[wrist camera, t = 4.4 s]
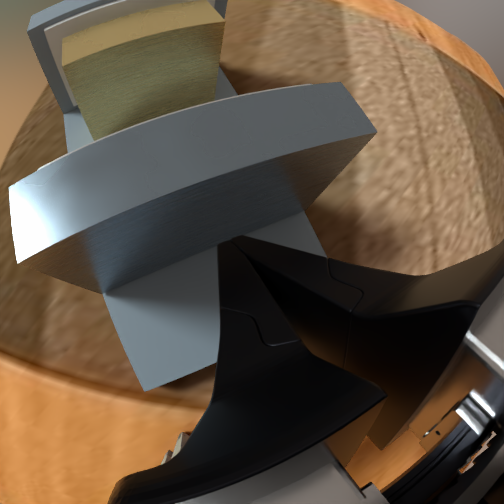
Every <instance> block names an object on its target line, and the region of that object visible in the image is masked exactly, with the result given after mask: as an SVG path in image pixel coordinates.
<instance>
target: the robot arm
mask: <svg viewBox="0 0 504 504" xmlns="http://www.w3.org/2000/svg"><path fill="white" fill-rule="evenodd" d="M217 265H218V289H219V309H220V310H219V313H220V337H219V349H218V357H217V365H216V373H215V381H214V388H213V393H212V398H211V401H210V404H209V406H208V408H207V409H206V411H205V413H204V414H203V416H202V417H201V419H200V421H199V422H198V424H197V425H196V427H195V429H194V430H193V432H192V433H191V435H190V436H189V438H188V439H187V441H186V443H185V444H184V446H183V447H182V448H181V450H180V451H179V452H178V453H177V454H176V455H175V456H174V457H173V458H171V459H170V460H168V461H167V462H165V463H163V464H162V465H159V466H157V467H154V468H151V469H147V470H144V471H140V472H136V473H133V474H130V475H128V476H125V477H123V478H122V479H120V480H119V481H118V482H117V483H116V485H115V487H114V489H113V491H112V493H111V495H110V498H109V501H108V504H504V239H503V240H502V242H501V243H500V244H498V245H497V246H495V247H494V248H492V249H490V250H488V251H486V252H484V253H482V254H480V255H477V256H475V257H472V258H470V259H468V260H465V261H463V262H460V263H458V264H455V265H453V266H450V267H448V268H445V269H443V270H440V271H437V272H435V273H432V274H428V275H421V276H414V275H407V274H401V273H396V272H390V271H385V270H380V269H374V268H369V267H364V266H359V265H355V264H351V263H347V262H342V261H339V260H335V259H331V258H327V257H324V256H320V255H316V254H312V253H309V252H305V251H301V250H298V249H294V248H290V247H286V246H283V245H279V244H275V243H271V242H267V241H264V240H260V239H256V238H252V237H248V236H245V235H239V236H236V237H234V238H231V239H230V241H229V240H226V241H224V242H221V243H219V244H217ZM409 428H410V429H411V430H412V431H413V432H414V434H415V435H416V436H417V437H418V438H419V439H420V440H421V441H420V442H419V443H420V445H421V446H422V447H423V448H424V449H425V451H426V452H427V453H426V454H425V455H424V456H422V457H421V458H420V459H419V460H418V461H417V462H416V463H414V464H413V465H412V466H411V467H410V468H409V469H407V470H406V471H405V472H404V473H402V474H401V475H400V476H399V477H397V478H396V479H395V480H394V481H392V482H391V483H390V484H388V485H387V486H386V487H384V488H383V489H382V490H380V491H379V490H378V489H377V488H376V486H375V485H374V484H373V483H372V482H369V483H368V484H366V485H365V486H363V487H361V488H359V486H358V485H357V484H356V482H355V481H354V480H353V479H352V477H351V476H350V475H349V473H348V472H347V471H346V469H345V467H346V466H347V464H348V463H349V461H350V460H351V458H352V457H353V455H354V454H355V452H356V451H357V449H358V447H359V446H360V444H361V443H362V441H363V440H364V438H365V436H366V435H367V436H368V437H369V438H370V439H371V440H372V441H373V443H374V444H375V445H376V446H377V447H378V448H379V449H380V450H383V449H384V448H385V447H387V446H388V445H389V444H391V443H392V442H393V441H394V440H396V439H397V438H398V437H399V436H401V435H402V434H403V433H404V432H405V431H407V430H408V429H409ZM492 431H494V432H495V433H496V434H497V435H496V436H494V437H493V438H492V439H491V440H490V441H489V442H488V443H487V446H488V448H487V449H486V450H485V451H484V452H482V453H481V454H480V455H479V456H477V457H476V458H475V459H474V460H473V463H474V466H472V467H471V468H470V469H468V470H467V471H465V472H464V473H461V472H460V471H459V470H460V469H461V468H462V467H464V466H465V465H467V464H468V463H469V462H470V461H471V460H472V459H471V457H472V456H473V455H474V454H475V453H477V452H478V451H479V450H480V449H481V448H482V446H481V445H482V444H483V443H484V442H485V441H486V440H488V439H489V438H490V437H491V435H492V433H491V432H492Z"/></svg>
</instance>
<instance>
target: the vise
mask: <svg viewBox="0 0 504 504" xmlns="http://www.w3.org/2000/svg"><path fill="white" fill-rule="evenodd" d="M191 1H198V0H65V1H62V2H60V3H58V4H55V5H53V6H51V7H49V8H47V9H44V10H42V11H40V12H39V13H36V14H34V15H32V17H31V20H30V23H29V27H28V30H27V33H28V35H29V38H30V40H31V43H32V46H33V48H34V51H35V53H36V55H37V58H38V60H39V63H40V64H41V67H42V69H43V72H44V74H45V76H46V78H47V81H48V83H49V85H50V87H51V89H52V91H53V93H54V95H55V98H56V100H57V102H58V104H59V106H60V108H61V110H62V112H63V114H64V123H65V133H66V141H67V149H68V153H70V152H72V151H74V150H76V149H78V148H80V147H83V146H85V145H87V144H89V143H92V142H94V140H93V138H92V136H91V134H90V132H89V129H88V127H87V125H86V123H85V121H84V118H83V116H82V114H81V112H80V109H79V107H78V105H77V103H76V100H75V98H74V95H73V93H72V91H71V88H70V86H69V83H68V81H67V78H66V76H65V73H64V71H63V68H62V39H63V38H65V37H67V36H70V35H72V34H74V33H77V32H79V31H82V30H84V29H87V28H90V27H92V26H95V25H98V24H101V23H104V22H107V21H110V20H113V19H116V18H119V17H123V16H126V15H130V14H133V13H137V12H141V11H145V10H149V9H154V8H158V7H163V6H168V5H173V4H179V3H185V2H191ZM207 1H208V2H209V3H210V5H211V6H212V7H213V8H214V9H215V10H216V11H217V12H218V13H219V14H220V15H221V17H222V18H223V19H224V18H225V12H226V6H227V1H228V0H207ZM233 96H238V94H237V93H236V91H235V90H234V88H233V87H232V85H231V83H230V82H229V80H228V79H227V77H226V76H225V74H224V73H223V71H222V69H221V68H220V66H219V69H218V76H217V84H216V92H215V100H214V101H216V100H220V99H224V98H229V97H233ZM244 235H245V236H248V237H252V238H256V239H260V240H264V241H267V242H271V243H275V244H279V245H283V246H286V247H290V248H294V249H298V250H301V251H305V252H309V253H312V254H316V255H320V256H324V257H327V256H326V254H325V252H324V250H323V248H322V246H321V244H320V242H319V240H318V238H317V236H316V234H315V232H314V230H313V228H312V226H311V224H310V222H309V220H308V218H307V216H306V214H305V212H304V211H302V212H300V213H297V214H295V215H292V216H290V217H287V218H285V219H282V220H279V221H277V222H274V223H272V224H269V225H267V226H264V227H262V228H259V229H257V230H254V231H252V232H249V233H247V234H244ZM103 296H104V299H105V302H106V305H107V307H108V310H109V313H110V315H111V318H112V320H113V323H114V325H115V328H116V330H117V333H118V335H119V338H120V340H121V342H122V345H123V347H124V349H125V352H126V354H127V356H128V358H129V360H130V363H131V365H132V367H133V369H134V371H135V373H136V375H137V377H138V379H139V381H140V383H141V385H142V387H143V389H144V391H148V390H150V389H153V388H156V387H158V386H161V385H163V384H166V383H168V382H171V381H173V380H176V379H178V378H181V377H183V376H186V375H188V374H190V373H193V372H195V371H198V370H200V369H202V368H205V367H207V366H209V365H211V364H214V363H216V362H217V357H218V349H219V337H220V313H219V310H220V309H219V289H218V265H217V246H215V247H212V248H210V249H207V250H205V251H203V252H200V253H198V254H195V255H193V256H190V257H188V258H186V259H183V260H181V261H178V262H176V263H174V264H171V265H169V266H167V267H164V268H162V269H159V270H157V271H155V272H152V273H150V274H148V275H145V276H143V277H140V278H138V279H136V280H133V281H131V282H129V283H126V284H124V285H122V286H119V287H117V288H115V289H112V290H110V291H108V292H106V293H103Z"/></svg>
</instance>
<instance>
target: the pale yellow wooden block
mask: <svg viewBox="0 0 504 504" xmlns="http://www.w3.org/2000/svg"><path fill="white" fill-rule="evenodd" d="M225 22H226V21H225V20H224V19H223V18H222V17H221V15H220V14H219V13H218V12H217V11H216V10H215V9H214V8H213V7H212V6H211V5H210V3H209V2H208V1H207V0H198V1H191V2H185V3H179V4H173V5H168V6H163V7H158V8H154V9H149V10H145V11H141V12H137V13H133V14H130V15H126V16H123V17H119V18H116V19H113V20H110V21H107V22H104V23H101V24H98V25H95V26H92V27H90V28H87V29H84V30H82V31H79V32H77V33H74V34H72V35H70V36H67V37H65V38H63V39H62V68H63V71H64V73H65V76H66V78H67V81H68V83H69V86H70V88H71V91H72V93H73V95H74V98H75V100H76V103H77V105H78V107H79V109H80V112H81V114H82V116H83V118H84V121H85V123H86V125H87V127H88V129H89V132H90V134H91V136H92V138H93V140H94V141H96V140H98V139H101V138H103V137H106V136H108V135H110V134H113V133H115V132H118V131H121V130H123V129H126V128H128V127H131V126H134V125H136V124H139V123H142V122H145V121H148V120H151V119H154V118H157V117H160V116H163V115H166V114H169V113H172V112H176V111H179V110H182V109H186V108H189V107H193V106H197V105H200V104H204V103H208V102H212V101H214V100H215V92H216V84H217V76H218V69H219V62H220V54H221V48H222V41H223V35H224V28H225Z"/></svg>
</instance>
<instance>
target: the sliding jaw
mask: <svg viewBox="0 0 504 504" xmlns="http://www.w3.org/2000/svg"><path fill="white" fill-rule="evenodd" d="M376 133H377V130H376V129H375V127H374V126H373V125H372V123H371V122H370V120H369V119H368V117H367V116H366V115H365V113H364V112H363V110H362V109H361V108H360V106H359V105H358V104H357V102H356V101H355V100H354V98H353V97H352V96H351V94H350V93H349V92H348V91H347V89H346V88H345V87H344V86H343V84H342V83H341V82H334V83H323V84H313V85H312V84H304V85H296V86H289V87H282V88H275V89H269V90H264V91H258V92H253V93H248V94H243V95H238V96H233V97H229V98H224V99H220V100H216V101H212V102H208V103H204V104H200V105H197V106H193V107H189V108H186V109H182V110H179V111H176V112H172V113H169V114H166V115H163V116H160V117H157V118H154V119H151V120H148V121H145V122H142V123H139V124H136V125H134V126H131V127H128V128H126V129H123V130H121V131H118V132H115V133H113V134H110V135H108V136H106V137H103V138H101V139H98V140H96V141H94V142H92V143H89V144H87V145H85V146H83V147H80V148H78V149H76V150H74V151H72V152H70V153H68V154H66V155H64V156H62V157H60V158H58V159H56V160H54V161H52V162H50V163H48V164H46V165H44V166H42V167H40V168H39V169H38V171H36V172H34V173H32V174H31V175H29V176H27V177H25V178H24V179H22V180H20V181H19V182H17V183H15V184H14V185H12V186H10V187H9V196H10V210H11V220H12V229H13V237H14V244H15V250H16V256H17V262H18V263H19V264H21V265H24V266H26V267H29V268H31V269H34V270H36V271H39V272H41V273H44V274H46V275H49V276H52V277H54V278H57V279H60V280H62V281H65V282H68V283H71V284H73V285H76V286H79V287H82V288H85V289H88V290H91V291H94V292H97V293H100V294H103V293H106V292H108V291H110V290H112V289H115V288H117V287H119V286H122V285H124V284H126V283H129V282H131V281H133V280H136V279H138V278H140V277H143V276H145V275H148V274H150V273H152V272H155V271H157V270H159V269H162V268H164V267H167V266H169V265H171V264H174V263H176V262H178V261H181V260H183V259H186V258H188V257H190V256H193V255H195V254H198V253H200V252H203V251H205V250H207V249H210V248H212V247H215V246H217V244H219V243H221V242H224V241H226V240H229V241H230V239H231V238H234V237H236V236H239V235H244V234H247V233H249V232H252V231H254V230H257V229H259V228H262V227H264V226H267V225H269V224H272V223H274V222H277V221H279V220H282V219H285V218H287V217H290V216H292V215H295V214H297V213H300V212H302V211H305V210H306V209H307V208H308V207H309V206H310V205H311V204H312V203H313V202H314V201H315V199H316V198H317V197H318V196H319V195H320V194H321V193H322V192H323V191H324V190H325V189H326V188H327V187H328V185H329V184H330V183H331V182H332V181H333V180H334V179H335V178H336V177H337V176H338V175H339V174H340V172H341V171H342V170H343V169H344V168H345V167H346V166H347V165H348V164H349V163H350V162H351V161H352V159H353V158H354V157H355V156H356V155H357V154H358V153H359V152H360V151H361V150H362V149H363V147H364V146H365V145H366V144H367V143H368V142H369V141H370V140H371V139H372V138H373V136H374V135H375V134H376Z"/></svg>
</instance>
